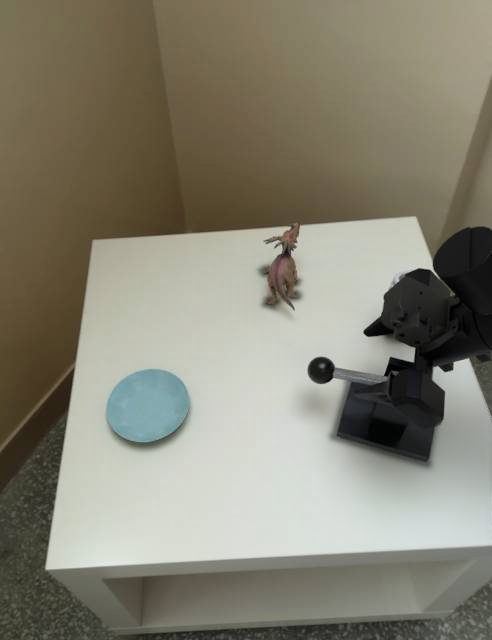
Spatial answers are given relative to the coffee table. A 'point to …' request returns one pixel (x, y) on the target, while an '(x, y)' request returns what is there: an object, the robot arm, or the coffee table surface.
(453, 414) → the coffee table surface
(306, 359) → the coffee table surface
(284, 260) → the dinosaur figurine
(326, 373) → the lever
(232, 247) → the coffee table surface
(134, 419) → the saucer
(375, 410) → the bracket
